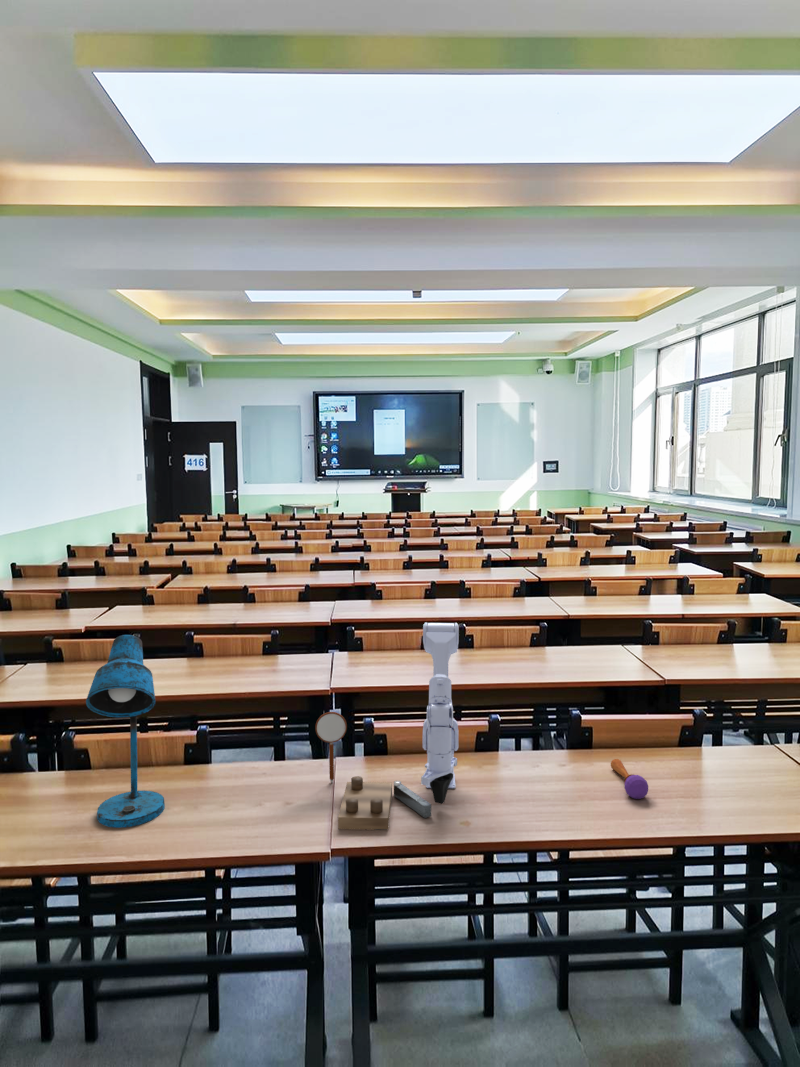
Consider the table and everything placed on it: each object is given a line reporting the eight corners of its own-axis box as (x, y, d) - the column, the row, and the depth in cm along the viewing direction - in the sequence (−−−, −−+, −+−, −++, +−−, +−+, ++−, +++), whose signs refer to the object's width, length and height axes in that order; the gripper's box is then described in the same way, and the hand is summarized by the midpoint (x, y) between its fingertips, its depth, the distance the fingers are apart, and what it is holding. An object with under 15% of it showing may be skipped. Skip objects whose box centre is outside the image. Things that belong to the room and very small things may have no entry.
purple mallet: (628, 756, 200) (653, 782, 180) (624, 776, 200) (649, 804, 180) (608, 752, 200) (631, 777, 180) (604, 772, 200) (626, 800, 180)
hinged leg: (392, 794, 184) (392, 781, 184) (398, 792, 185) (398, 779, 185) (424, 818, 172) (424, 804, 171) (431, 815, 173) (431, 802, 172)
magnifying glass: (347, 780, 194) (346, 710, 192) (347, 783, 192) (346, 712, 190) (316, 781, 193) (315, 711, 191) (316, 784, 191) (314, 713, 189)
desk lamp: (85, 841, 162) (76, 652, 158) (105, 798, 183) (97, 630, 179) (158, 834, 165) (151, 648, 161) (168, 792, 187) (162, 627, 182)
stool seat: (347, 792, 186) (347, 772, 186) (392, 793, 186) (392, 773, 185) (338, 829, 167) (337, 807, 167) (388, 830, 167) (387, 808, 166)
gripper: (440, 737, 184) (440, 787, 185) (410, 756, 172) (410, 809, 173) (464, 743, 180) (464, 794, 181) (435, 763, 168) (435, 817, 169)
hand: (439, 802), depth 177 cm, fingers closed
